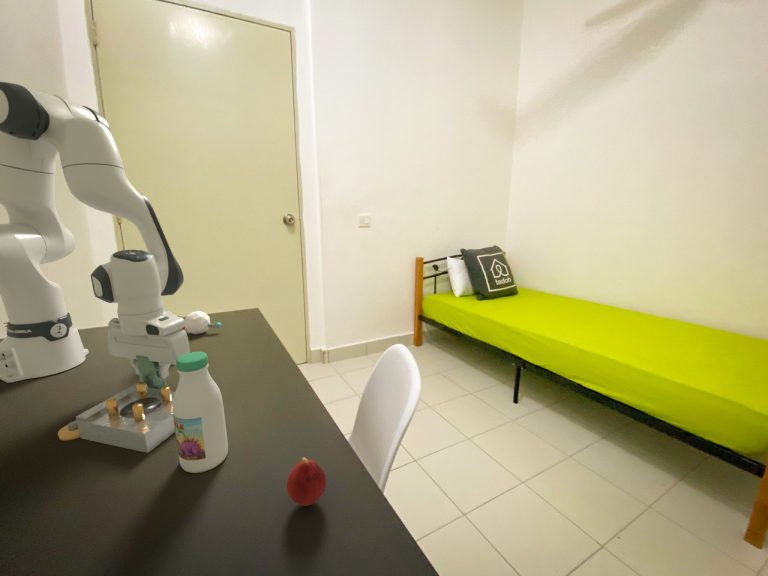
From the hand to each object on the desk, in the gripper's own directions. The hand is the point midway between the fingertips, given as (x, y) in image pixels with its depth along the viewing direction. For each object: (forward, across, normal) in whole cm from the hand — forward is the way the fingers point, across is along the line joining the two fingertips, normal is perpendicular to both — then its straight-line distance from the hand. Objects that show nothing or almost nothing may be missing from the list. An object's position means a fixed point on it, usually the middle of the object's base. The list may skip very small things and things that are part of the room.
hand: (152, 375), depth 81 cm
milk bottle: (+4, +28, -16) cm, 33 cm away
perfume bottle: (+4, -16, +35) cm, 39 cm away
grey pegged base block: (+4, +9, -11) cm, 15 cm away
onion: (+4, +50, -20) cm, 54 cm away
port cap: (+4, -2, -16) cm, 17 cm away
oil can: (+4, 0, 0) cm, 4 cm away
